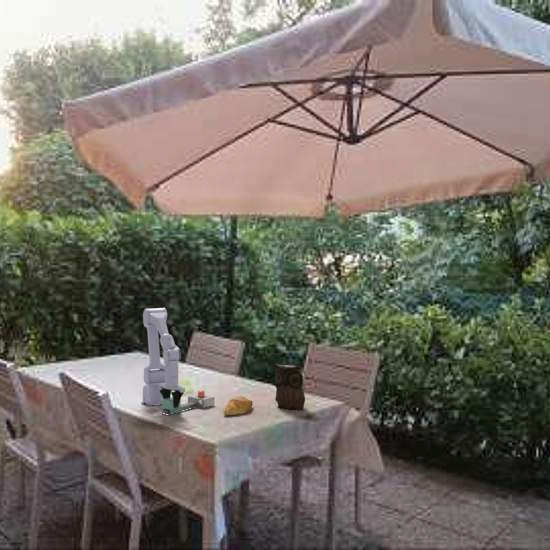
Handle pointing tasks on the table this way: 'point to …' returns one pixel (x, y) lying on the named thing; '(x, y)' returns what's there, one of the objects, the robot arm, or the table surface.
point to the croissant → (238, 406)
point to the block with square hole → (202, 400)
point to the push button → (201, 394)
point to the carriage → (171, 405)
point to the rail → (183, 407)
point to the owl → (289, 387)
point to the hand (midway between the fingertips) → (171, 406)
